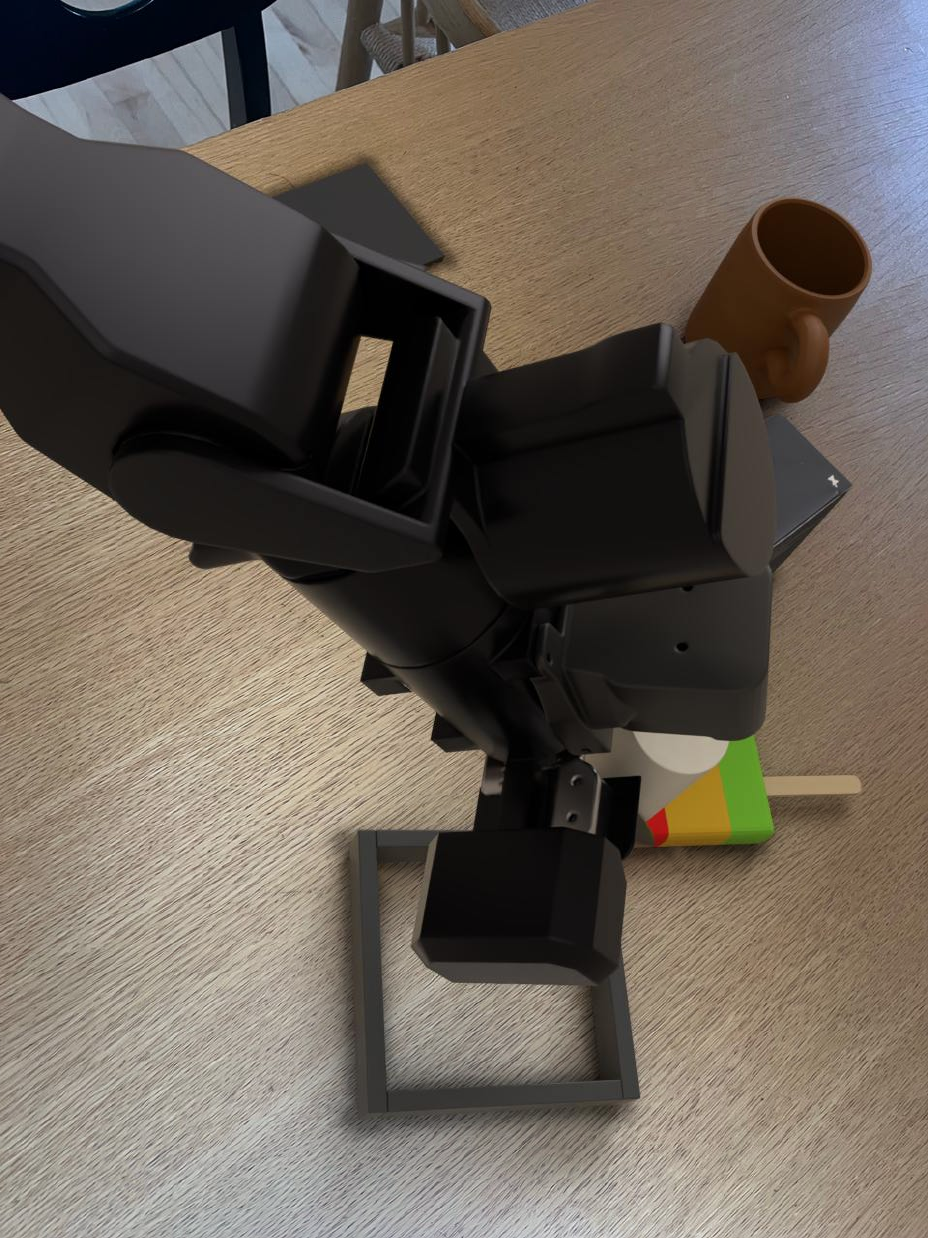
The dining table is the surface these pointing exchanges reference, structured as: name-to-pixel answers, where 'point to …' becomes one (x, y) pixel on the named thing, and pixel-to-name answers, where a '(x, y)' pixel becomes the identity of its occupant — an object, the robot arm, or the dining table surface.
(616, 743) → the white tall round cylinder
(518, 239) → the dining table surface
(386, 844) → the grey picture frame
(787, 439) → the box
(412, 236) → the rubber mat
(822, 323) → the mug
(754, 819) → the popsicle
